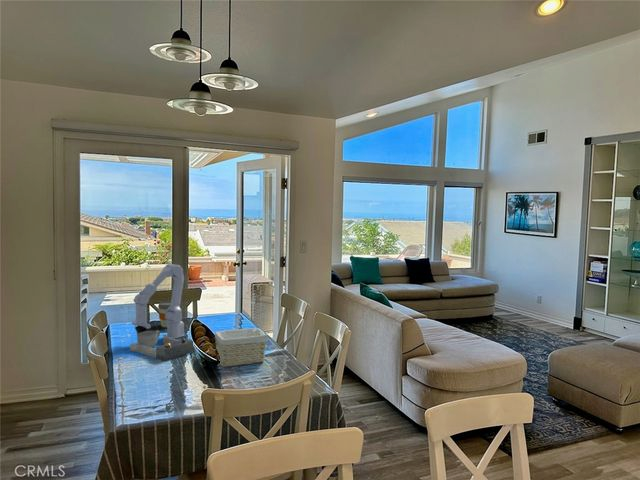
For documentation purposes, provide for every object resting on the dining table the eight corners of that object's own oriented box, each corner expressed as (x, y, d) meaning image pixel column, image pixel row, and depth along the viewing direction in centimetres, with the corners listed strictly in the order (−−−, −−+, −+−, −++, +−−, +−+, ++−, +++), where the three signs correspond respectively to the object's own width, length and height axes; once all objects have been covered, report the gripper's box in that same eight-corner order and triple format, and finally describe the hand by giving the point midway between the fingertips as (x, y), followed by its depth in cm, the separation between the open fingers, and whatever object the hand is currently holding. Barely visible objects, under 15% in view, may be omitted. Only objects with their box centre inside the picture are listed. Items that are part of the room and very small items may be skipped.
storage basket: (258, 353, 231) (258, 326, 230) (267, 363, 216) (268, 334, 215) (213, 359, 220) (213, 331, 219) (220, 369, 206) (220, 339, 205)
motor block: (164, 341, 248) (164, 329, 247) (197, 350, 232) (197, 337, 232) (129, 351, 229) (129, 337, 229) (161, 362, 214) (161, 348, 213)
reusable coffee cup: (157, 324, 285) (157, 302, 284) (177, 322, 291) (177, 300, 290) (158, 328, 274) (158, 305, 273) (179, 327, 279) (179, 304, 278)
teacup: (143, 351, 230) (143, 336, 229) (132, 347, 236) (132, 332, 236) (166, 345, 241) (166, 331, 240) (155, 341, 247) (155, 327, 247)
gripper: (127, 314, 242) (127, 338, 243) (142, 318, 234) (142, 342, 235) (138, 312, 248) (138, 335, 248) (153, 316, 240) (153, 339, 240)
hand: (141, 338), depth 242 cm, fingers closed
